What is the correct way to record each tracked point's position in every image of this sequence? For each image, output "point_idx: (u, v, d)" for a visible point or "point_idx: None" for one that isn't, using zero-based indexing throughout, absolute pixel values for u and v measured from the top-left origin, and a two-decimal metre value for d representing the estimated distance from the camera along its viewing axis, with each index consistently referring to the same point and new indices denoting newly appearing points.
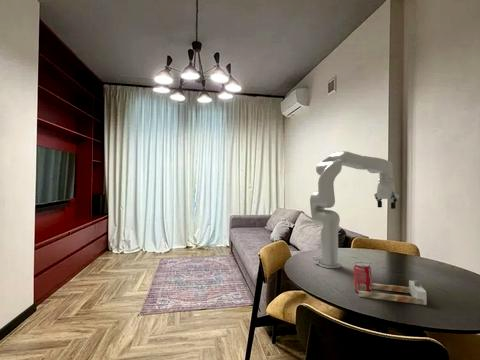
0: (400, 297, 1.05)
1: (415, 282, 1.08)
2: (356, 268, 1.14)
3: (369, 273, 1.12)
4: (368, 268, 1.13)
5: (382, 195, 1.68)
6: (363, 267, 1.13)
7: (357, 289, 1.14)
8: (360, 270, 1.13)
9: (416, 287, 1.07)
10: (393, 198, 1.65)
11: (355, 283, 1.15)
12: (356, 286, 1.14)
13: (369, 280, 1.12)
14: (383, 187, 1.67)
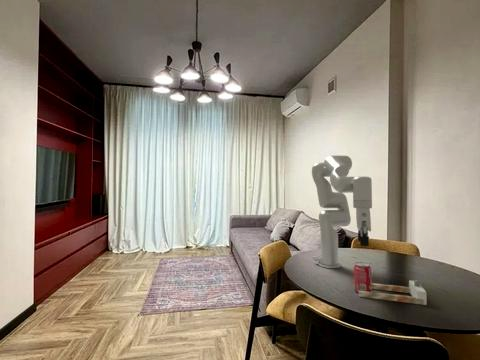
0: (400, 297, 1.05)
1: (415, 282, 1.08)
2: (356, 268, 1.14)
3: (369, 273, 1.12)
4: (368, 268, 1.13)
5: None
6: (363, 267, 1.13)
7: (357, 289, 1.14)
8: (360, 270, 1.13)
9: (416, 287, 1.07)
10: None
11: (355, 283, 1.15)
12: (356, 286, 1.14)
13: (369, 280, 1.12)
14: None
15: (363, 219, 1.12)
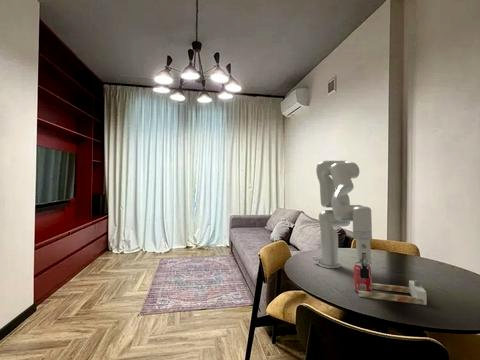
0: (400, 297, 1.05)
1: (415, 282, 1.08)
2: (356, 268, 1.14)
3: (369, 273, 1.12)
4: (368, 268, 1.13)
5: None
6: None
7: (357, 289, 1.14)
8: None
9: (416, 287, 1.07)
10: None
11: (355, 283, 1.15)
12: (356, 286, 1.14)
13: (369, 280, 1.12)
14: None
15: (363, 251, 1.11)
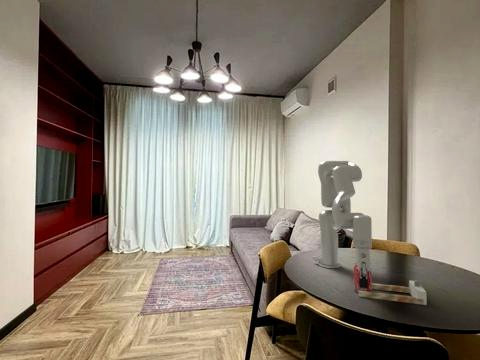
0: (400, 297, 1.05)
1: (415, 282, 1.08)
2: (356, 268, 1.14)
3: (369, 273, 1.12)
4: None
5: None
6: None
7: (357, 289, 1.14)
8: None
9: (416, 287, 1.07)
10: None
11: (355, 283, 1.15)
12: (356, 286, 1.14)
13: (369, 280, 1.12)
14: None
15: (363, 261, 1.11)
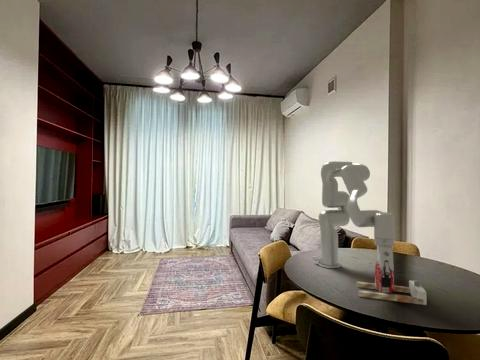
0: (400, 297, 1.05)
1: (415, 282, 1.08)
2: (378, 267, 1.12)
3: (392, 272, 1.10)
4: None
5: None
6: None
7: (379, 288, 1.11)
8: None
9: (416, 287, 1.07)
10: None
11: (377, 282, 1.12)
12: (378, 285, 1.11)
13: (392, 279, 1.10)
14: None
15: (385, 259, 1.08)
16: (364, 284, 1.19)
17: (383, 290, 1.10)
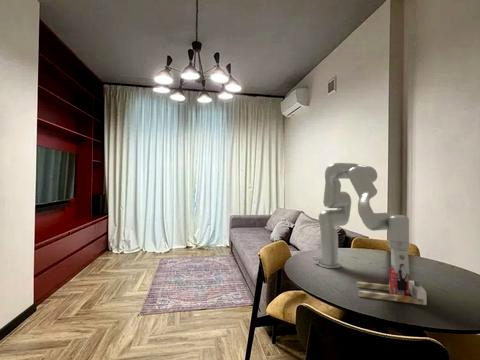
0: (400, 297, 1.05)
1: (415, 282, 1.08)
2: (392, 271, 1.10)
3: (407, 277, 1.08)
4: None
5: None
6: None
7: (394, 293, 1.09)
8: None
9: (416, 287, 1.07)
10: None
11: (391, 287, 1.10)
12: (392, 290, 1.10)
13: (407, 284, 1.08)
14: None
15: (401, 262, 1.06)
16: (364, 284, 1.19)
17: None
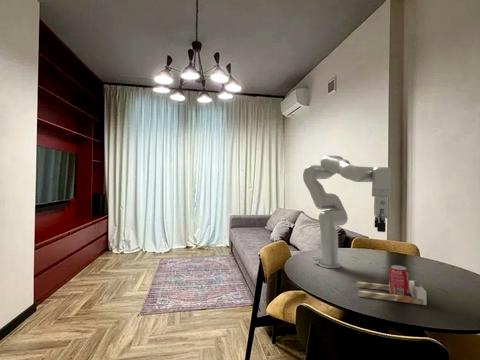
0: (400, 297, 1.05)
1: (415, 282, 1.08)
2: (392, 271, 1.10)
3: (407, 277, 1.08)
4: (405, 271, 1.08)
5: None
6: (400, 270, 1.08)
7: (394, 293, 1.09)
8: (397, 273, 1.08)
9: (416, 287, 1.07)
10: None
11: (391, 287, 1.10)
12: (392, 290, 1.10)
13: (407, 284, 1.08)
14: None
15: (381, 207, 1.20)
16: (364, 284, 1.19)
17: None
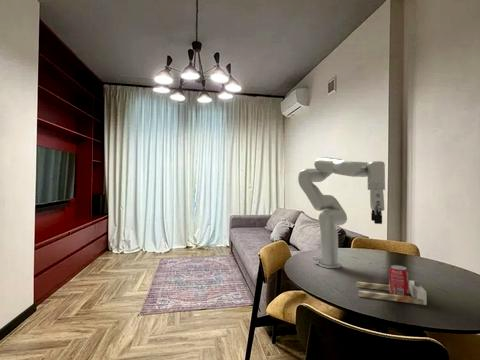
0: (400, 297, 1.05)
1: (415, 282, 1.08)
2: (392, 271, 1.10)
3: (407, 277, 1.08)
4: (405, 271, 1.08)
5: None
6: (400, 270, 1.08)
7: (394, 293, 1.09)
8: (397, 273, 1.08)
9: (416, 287, 1.07)
10: None
11: (391, 287, 1.10)
12: (392, 290, 1.10)
13: (407, 284, 1.08)
14: None
15: (377, 199, 1.24)
16: (364, 284, 1.19)
17: None
